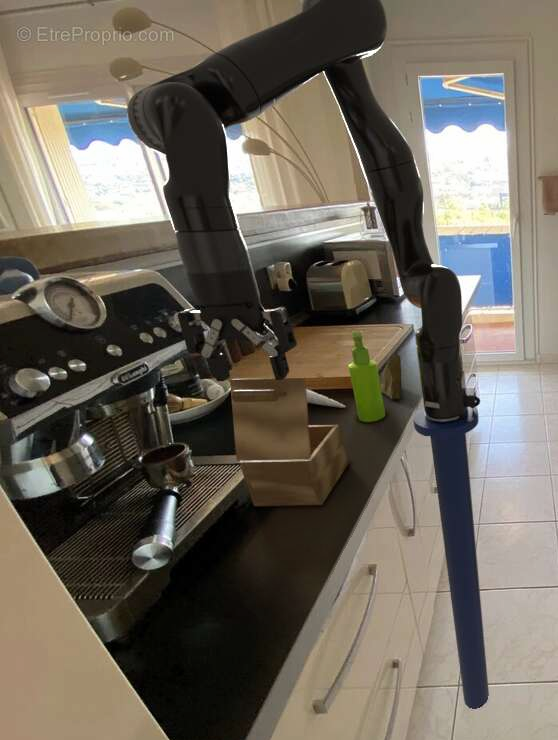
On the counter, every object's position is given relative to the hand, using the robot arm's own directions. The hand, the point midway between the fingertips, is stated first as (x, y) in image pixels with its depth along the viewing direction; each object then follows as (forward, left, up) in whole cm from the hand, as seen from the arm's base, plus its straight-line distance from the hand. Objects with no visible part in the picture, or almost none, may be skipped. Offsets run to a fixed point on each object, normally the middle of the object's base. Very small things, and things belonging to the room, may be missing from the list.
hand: (252, 378), depth 66 cm
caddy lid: (0, -2, -8) cm, 8 cm away
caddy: (0, -5, -23) cm, 23 cm away
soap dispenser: (-4, -32, -23) cm, 40 cm away
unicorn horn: (+15, -41, -23) cm, 50 cm away
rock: (-5, -45, -23) cm, 51 cm away
